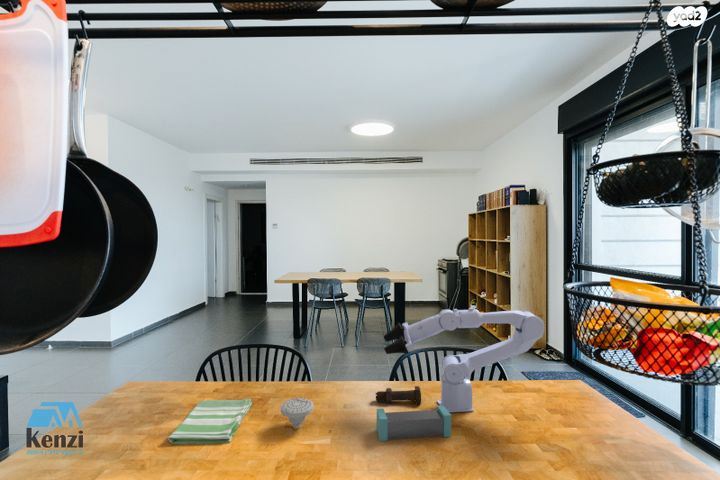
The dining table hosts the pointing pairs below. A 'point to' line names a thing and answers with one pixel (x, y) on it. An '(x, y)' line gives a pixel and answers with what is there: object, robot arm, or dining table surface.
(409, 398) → the bolt
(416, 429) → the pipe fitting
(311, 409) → the showerhead
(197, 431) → the dish towel
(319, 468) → the dining table surface
